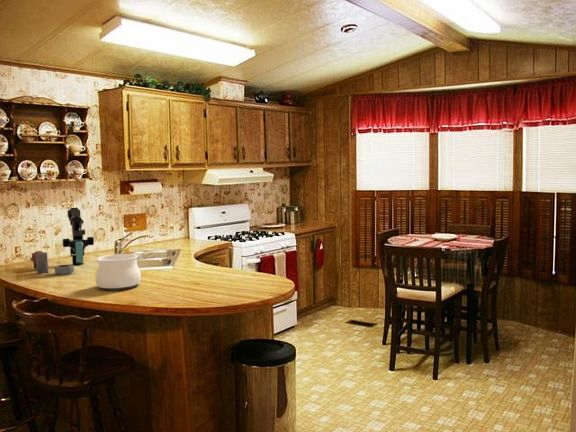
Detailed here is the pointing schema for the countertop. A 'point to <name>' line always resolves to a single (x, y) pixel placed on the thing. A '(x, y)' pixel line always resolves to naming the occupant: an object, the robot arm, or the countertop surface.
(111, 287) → the pot
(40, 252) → the mechanical component
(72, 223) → the robot arm
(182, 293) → the countertop surface
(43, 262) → the round bit
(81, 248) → the square bit
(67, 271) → the block
